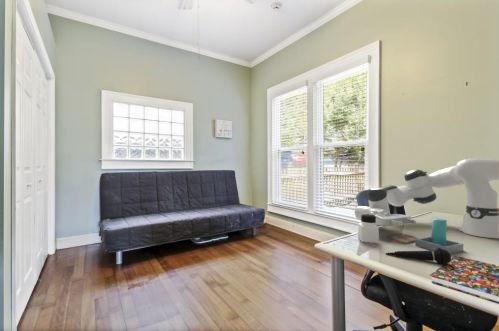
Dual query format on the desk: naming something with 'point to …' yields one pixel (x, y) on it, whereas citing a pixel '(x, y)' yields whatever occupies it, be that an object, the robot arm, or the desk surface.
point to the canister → (438, 231)
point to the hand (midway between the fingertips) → (409, 223)
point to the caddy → (450, 245)
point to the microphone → (425, 255)
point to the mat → (403, 239)
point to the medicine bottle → (368, 229)
